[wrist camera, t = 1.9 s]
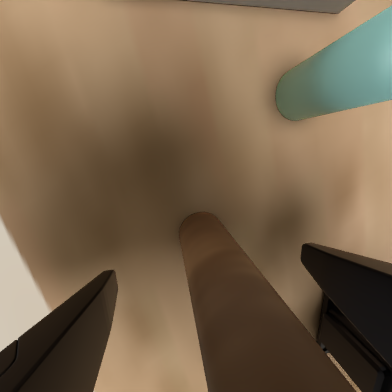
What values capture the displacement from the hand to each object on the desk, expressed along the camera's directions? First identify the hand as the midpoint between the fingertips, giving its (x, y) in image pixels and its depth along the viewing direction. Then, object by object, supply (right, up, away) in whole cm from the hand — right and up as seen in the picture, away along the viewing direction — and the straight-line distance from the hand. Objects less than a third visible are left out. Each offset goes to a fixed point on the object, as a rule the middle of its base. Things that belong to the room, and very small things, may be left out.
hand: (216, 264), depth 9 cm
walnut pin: (-1, +1, +3) cm, 3 cm away
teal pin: (+5, +9, +2) cm, 11 cm away
